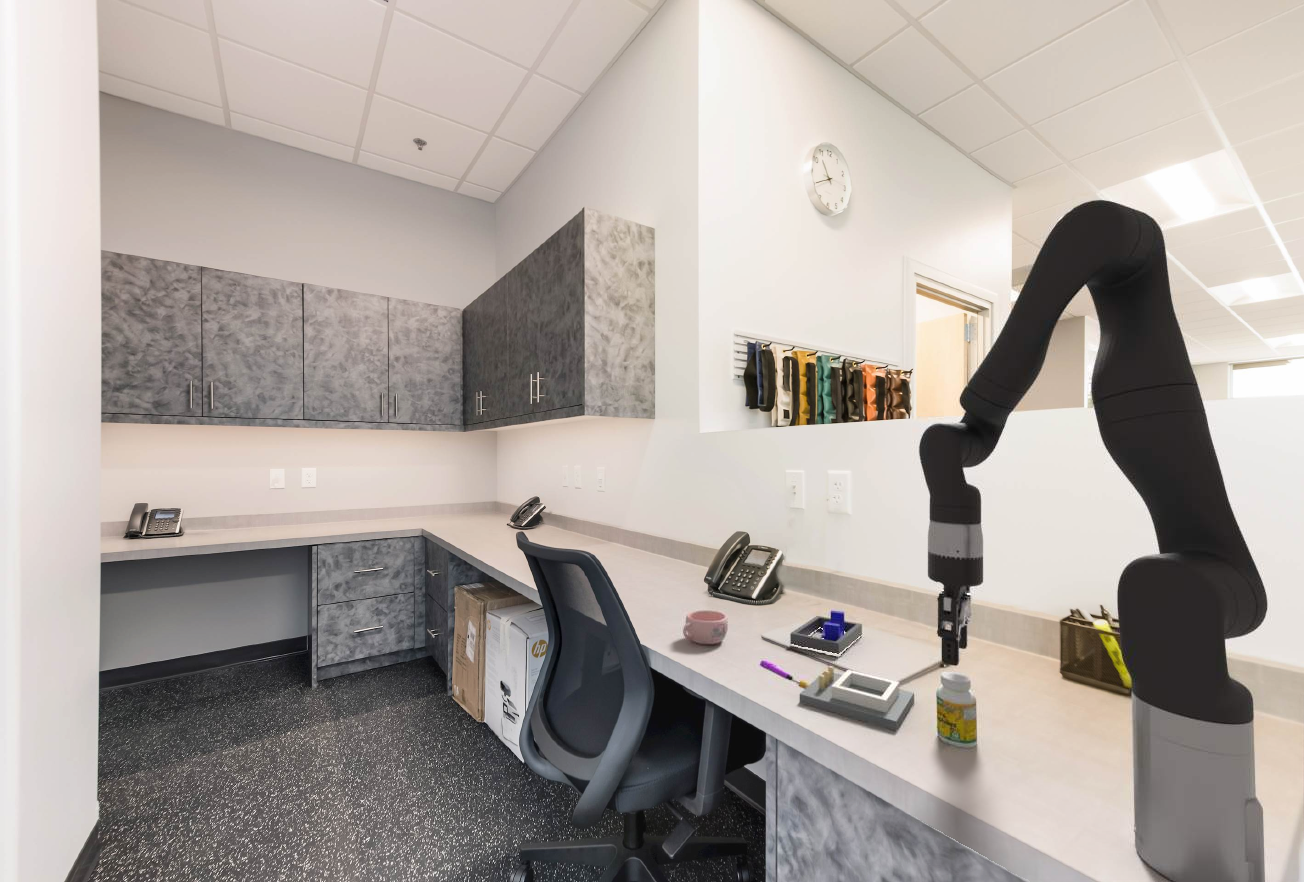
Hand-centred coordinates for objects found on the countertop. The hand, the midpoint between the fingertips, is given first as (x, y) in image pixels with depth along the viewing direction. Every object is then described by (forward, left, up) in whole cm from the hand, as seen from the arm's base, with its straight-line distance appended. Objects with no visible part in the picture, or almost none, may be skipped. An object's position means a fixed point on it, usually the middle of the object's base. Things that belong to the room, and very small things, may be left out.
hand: (954, 655), depth 83 cm
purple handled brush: (+30, -6, -14) cm, 33 cm away
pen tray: (+31, -31, -13) cm, 45 cm away
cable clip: (+30, -31, -13) cm, 45 cm away
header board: (+16, -3, -13) cm, 21 cm away
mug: (+54, -13, -13) cm, 57 cm away
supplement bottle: (0, 0, -13) cm, 13 cm away
